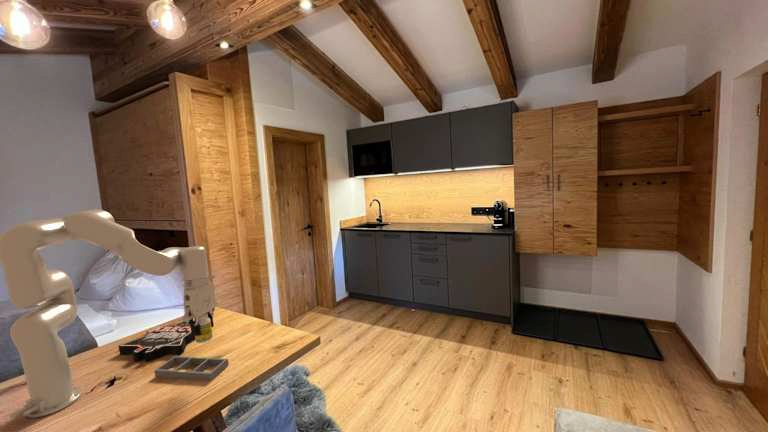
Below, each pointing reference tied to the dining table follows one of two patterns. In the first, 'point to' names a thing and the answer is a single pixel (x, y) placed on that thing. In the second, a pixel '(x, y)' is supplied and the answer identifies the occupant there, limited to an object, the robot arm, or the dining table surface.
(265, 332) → the dining table surface
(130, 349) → the wall plaque
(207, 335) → the supplement bottle
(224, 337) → the dining table surface
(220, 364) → the slot rack
